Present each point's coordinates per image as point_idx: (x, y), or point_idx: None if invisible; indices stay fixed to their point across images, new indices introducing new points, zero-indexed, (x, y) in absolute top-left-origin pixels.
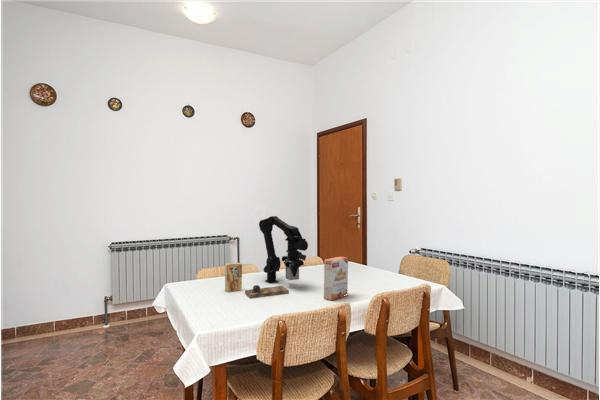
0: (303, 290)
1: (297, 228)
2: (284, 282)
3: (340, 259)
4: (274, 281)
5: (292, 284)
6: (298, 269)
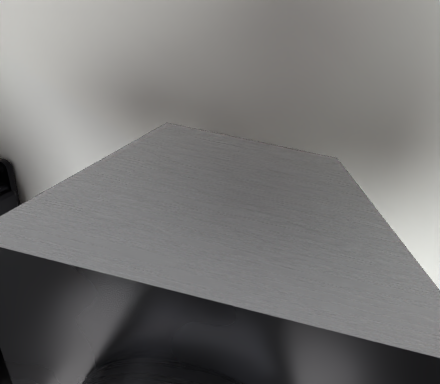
0: (423, 145)
1: None
2: (32, 112)
3: None
4: (16, 203)
5: (138, 90)
6: (422, 306)
